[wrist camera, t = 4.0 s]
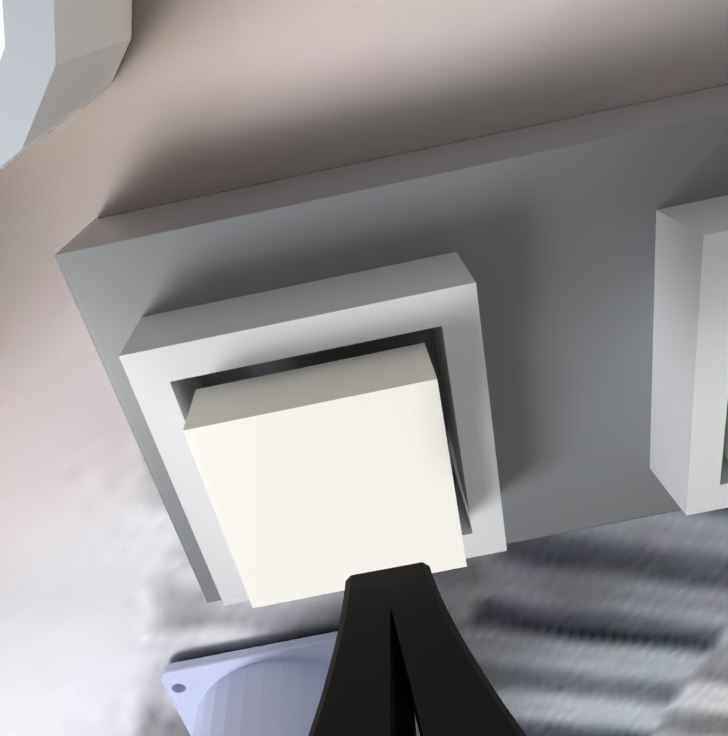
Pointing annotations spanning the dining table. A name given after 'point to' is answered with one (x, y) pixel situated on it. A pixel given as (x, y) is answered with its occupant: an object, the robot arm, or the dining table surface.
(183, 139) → the dining table surface
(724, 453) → the sage key
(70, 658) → the dining table surface
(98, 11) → the white cylinder
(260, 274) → the key panel
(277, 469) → the pale key
